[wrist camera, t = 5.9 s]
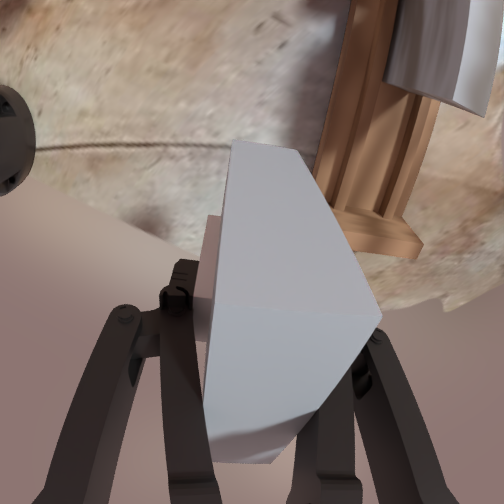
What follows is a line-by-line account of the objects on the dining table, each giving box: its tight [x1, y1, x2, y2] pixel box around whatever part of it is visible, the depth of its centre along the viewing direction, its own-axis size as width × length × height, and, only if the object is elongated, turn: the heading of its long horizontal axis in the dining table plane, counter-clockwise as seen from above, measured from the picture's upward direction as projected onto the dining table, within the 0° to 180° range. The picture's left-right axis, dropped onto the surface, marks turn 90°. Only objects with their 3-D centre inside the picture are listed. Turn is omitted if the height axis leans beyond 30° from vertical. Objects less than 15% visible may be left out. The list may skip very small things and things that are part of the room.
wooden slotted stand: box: [312, 0, 504, 259], centre depth 22 cm, size 12×30×14 cm, turn 171°
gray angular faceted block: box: [202, 139, 383, 464], centre depth 14 cm, size 4×11×12 cm, turn 170°
